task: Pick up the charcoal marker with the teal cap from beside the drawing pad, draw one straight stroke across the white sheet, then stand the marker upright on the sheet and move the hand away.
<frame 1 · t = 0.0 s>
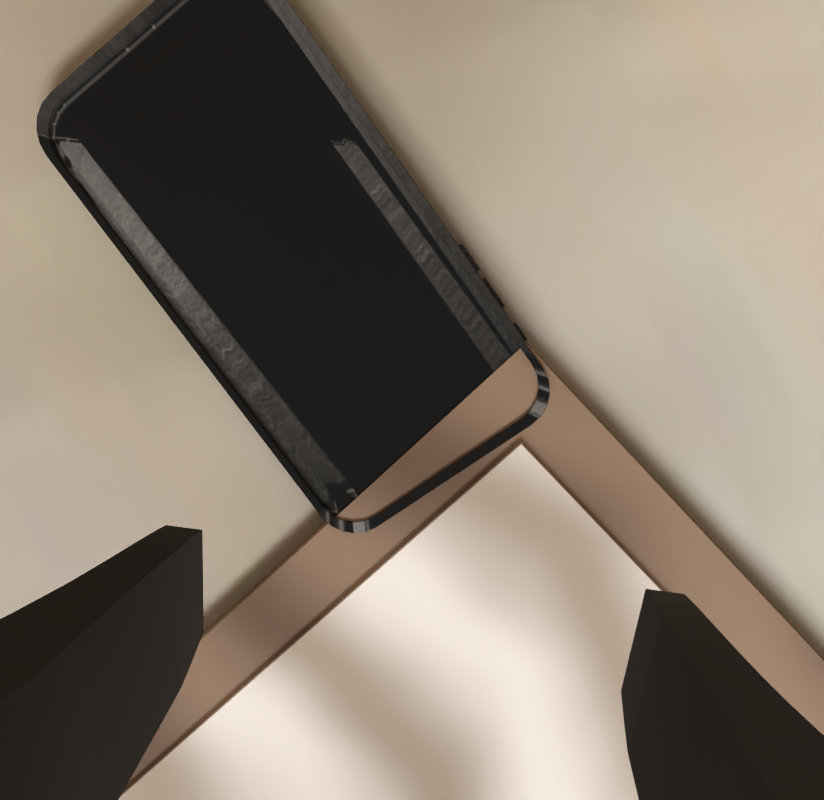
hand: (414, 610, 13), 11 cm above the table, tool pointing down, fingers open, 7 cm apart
phone: (306, 259, 23), on the table
drawing pad: (436, 792, 25), on the table
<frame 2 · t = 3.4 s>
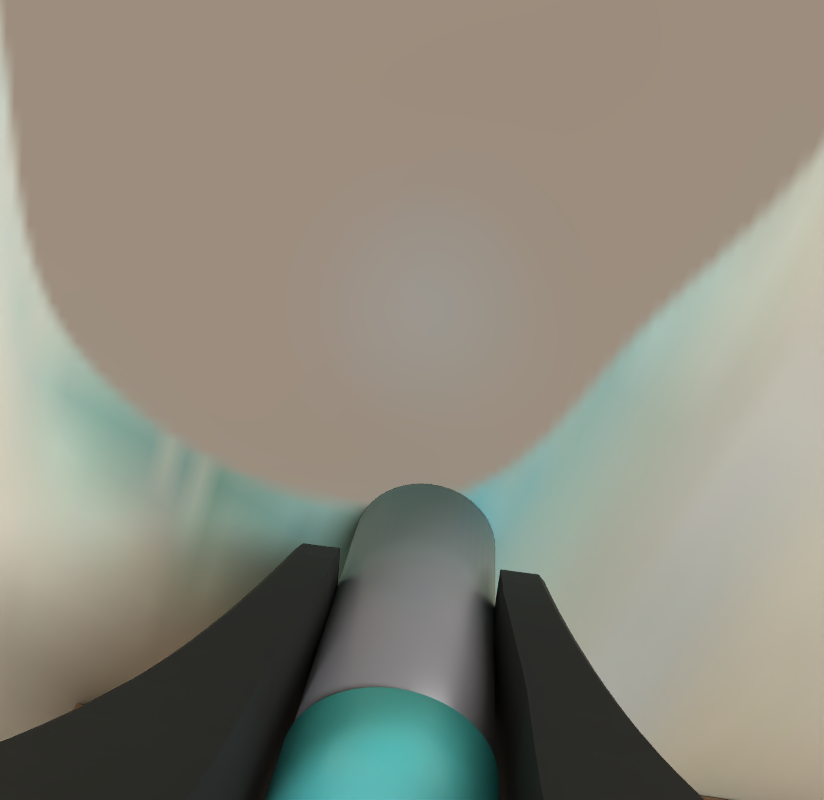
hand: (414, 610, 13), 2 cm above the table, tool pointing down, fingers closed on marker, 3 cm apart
marker: (424, 546, 14), on the table, touching gripper
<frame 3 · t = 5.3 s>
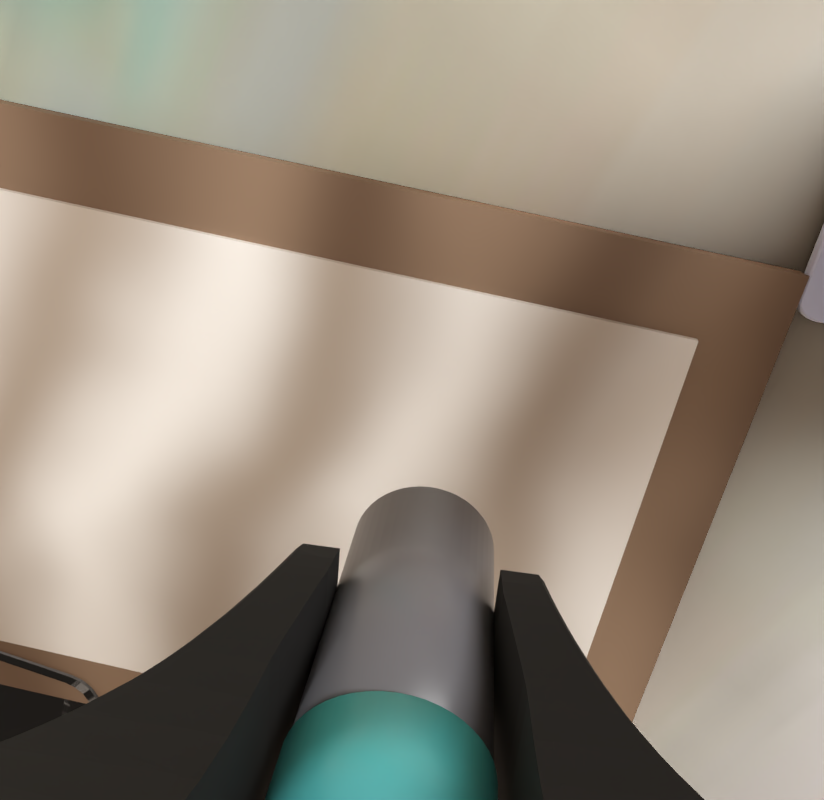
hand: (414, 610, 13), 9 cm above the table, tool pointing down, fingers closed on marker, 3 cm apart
marker: (423, 549, 14), point 7 cm above the table, touching gripper
drawing pad: (267, 487, 22), on the table
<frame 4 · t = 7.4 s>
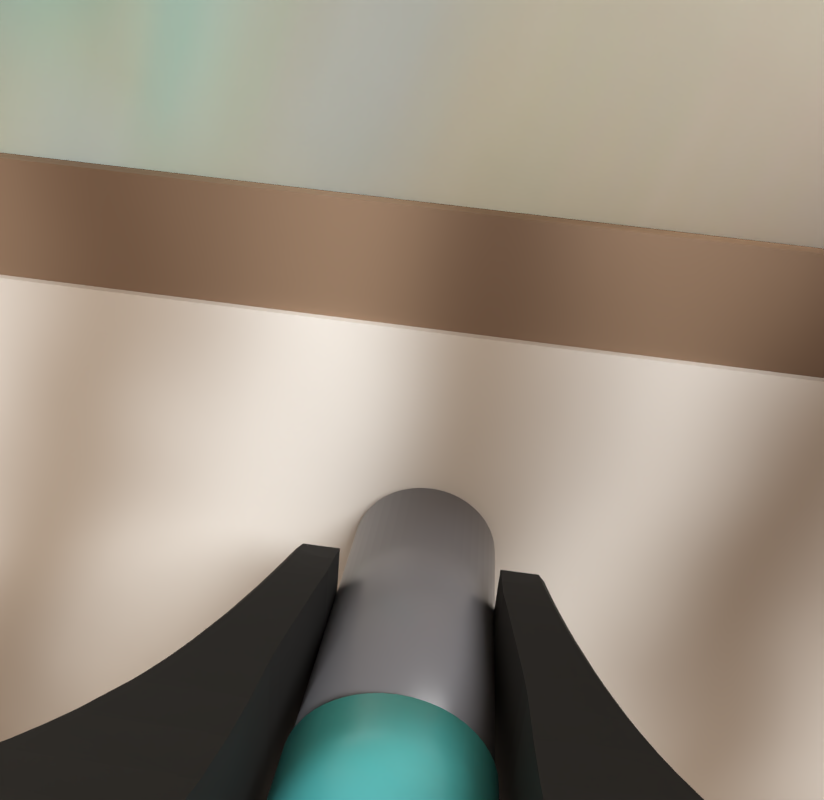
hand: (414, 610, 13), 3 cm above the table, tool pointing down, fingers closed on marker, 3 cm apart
marker: (424, 550, 14), point 1 cm above the table, touching gripper
drawing pad: (379, 635, 16), on the table
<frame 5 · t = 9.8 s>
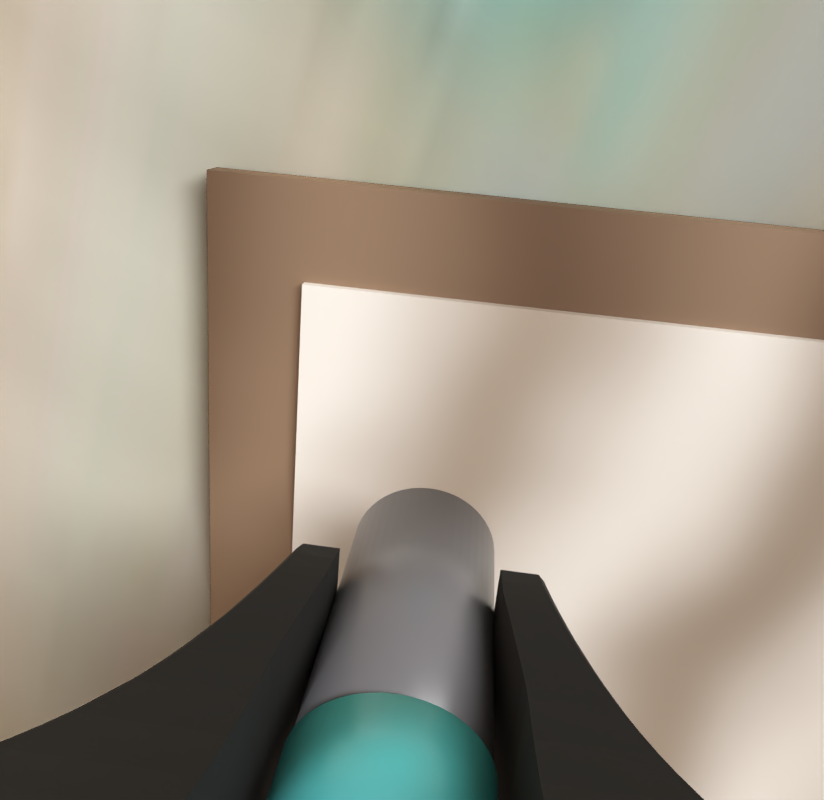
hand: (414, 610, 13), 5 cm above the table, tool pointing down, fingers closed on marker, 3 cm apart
marker: (423, 550, 14), point 3 cm above the table, touching gripper
drawing pad: (715, 613, 18), on the table
when the fingers open (4 cm above the table, at t = 11.7 s): marker stays where it is, resting on drawing pad.
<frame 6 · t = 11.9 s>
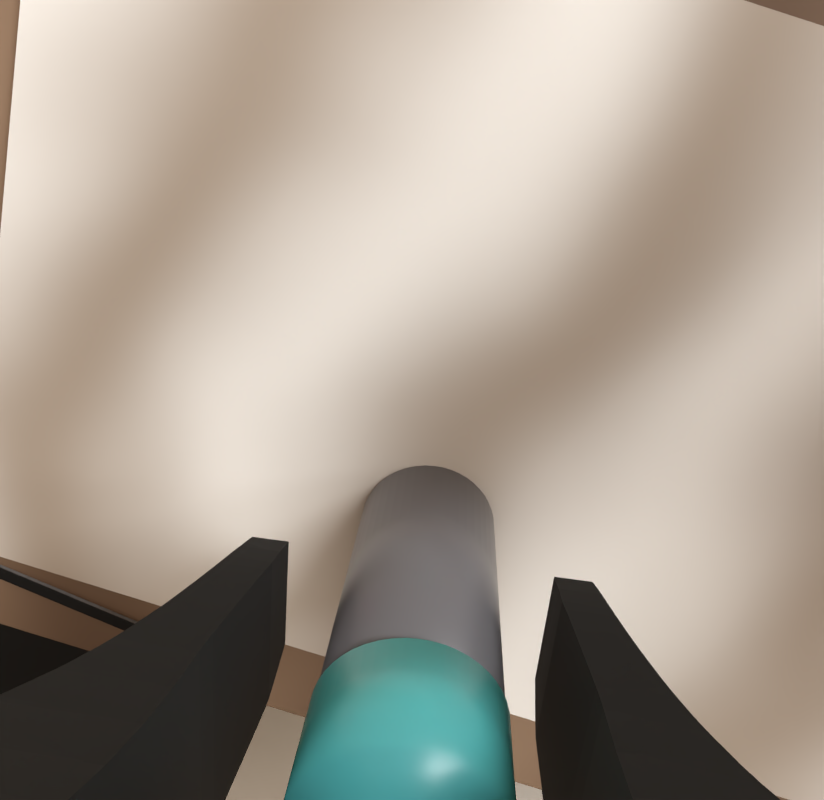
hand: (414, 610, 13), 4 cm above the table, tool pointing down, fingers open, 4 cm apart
marker: (427, 525, 15), point 1 cm above the table, touching drawing pad
phone: (19, 771, 21), on the table
drawing pad: (527, 384, 15), on the table
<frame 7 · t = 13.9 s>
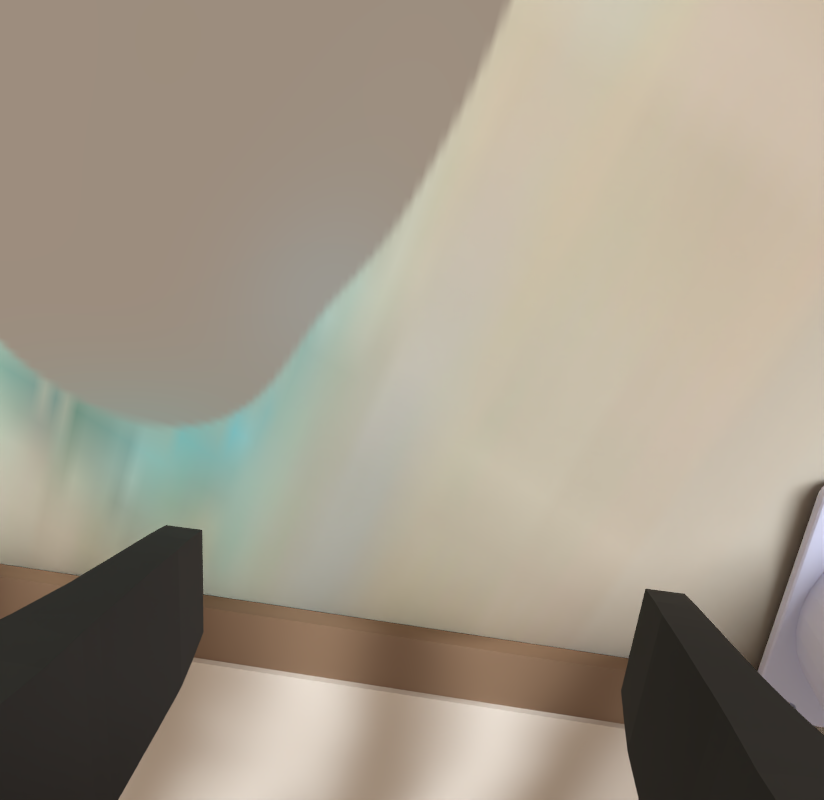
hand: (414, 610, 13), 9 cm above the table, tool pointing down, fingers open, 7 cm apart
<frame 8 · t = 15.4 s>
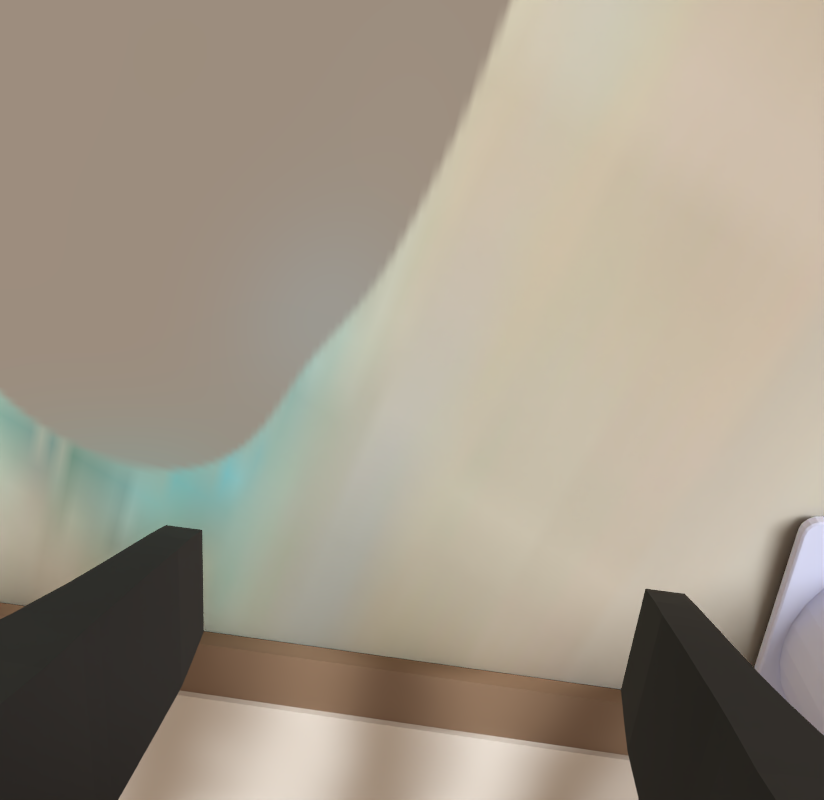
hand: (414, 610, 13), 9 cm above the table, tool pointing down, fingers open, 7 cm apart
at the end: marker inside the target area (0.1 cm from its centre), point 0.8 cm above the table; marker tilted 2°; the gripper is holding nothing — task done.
